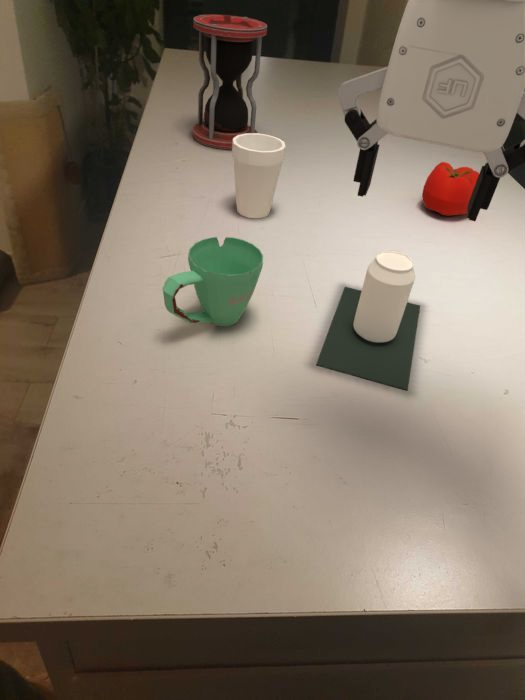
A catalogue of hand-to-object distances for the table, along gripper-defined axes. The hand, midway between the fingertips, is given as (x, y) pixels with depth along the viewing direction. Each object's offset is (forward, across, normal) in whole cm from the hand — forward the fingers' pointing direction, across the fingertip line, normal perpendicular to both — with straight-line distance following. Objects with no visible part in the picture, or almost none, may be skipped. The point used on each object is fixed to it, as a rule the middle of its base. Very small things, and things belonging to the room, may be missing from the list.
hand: (416, 202), depth 47 cm
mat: (+26, 0, +15) cm, 30 cm away
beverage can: (+26, 0, +15) cm, 30 cm away
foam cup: (+26, -28, +44) cm, 58 cm away
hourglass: (+26, -47, +78) cm, 95 cm away
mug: (+26, -22, +8) cm, 35 cm away
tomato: (+26, +8, +64) cm, 69 cm away
